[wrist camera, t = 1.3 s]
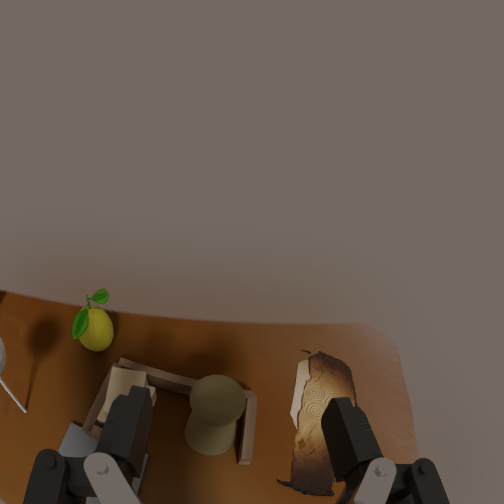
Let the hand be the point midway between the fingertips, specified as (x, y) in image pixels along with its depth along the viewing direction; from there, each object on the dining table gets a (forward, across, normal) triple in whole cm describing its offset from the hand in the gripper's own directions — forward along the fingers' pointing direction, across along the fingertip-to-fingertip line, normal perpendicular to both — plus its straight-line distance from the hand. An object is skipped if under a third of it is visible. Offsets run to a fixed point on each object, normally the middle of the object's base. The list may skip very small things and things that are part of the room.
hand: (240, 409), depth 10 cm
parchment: (+14, -14, +21) cm, 29 cm away
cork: (+10, +1, +20) cm, 23 cm away
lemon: (+21, +18, +18) cm, 33 cm away
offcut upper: (+11, +11, +17) cm, 23 cm away
